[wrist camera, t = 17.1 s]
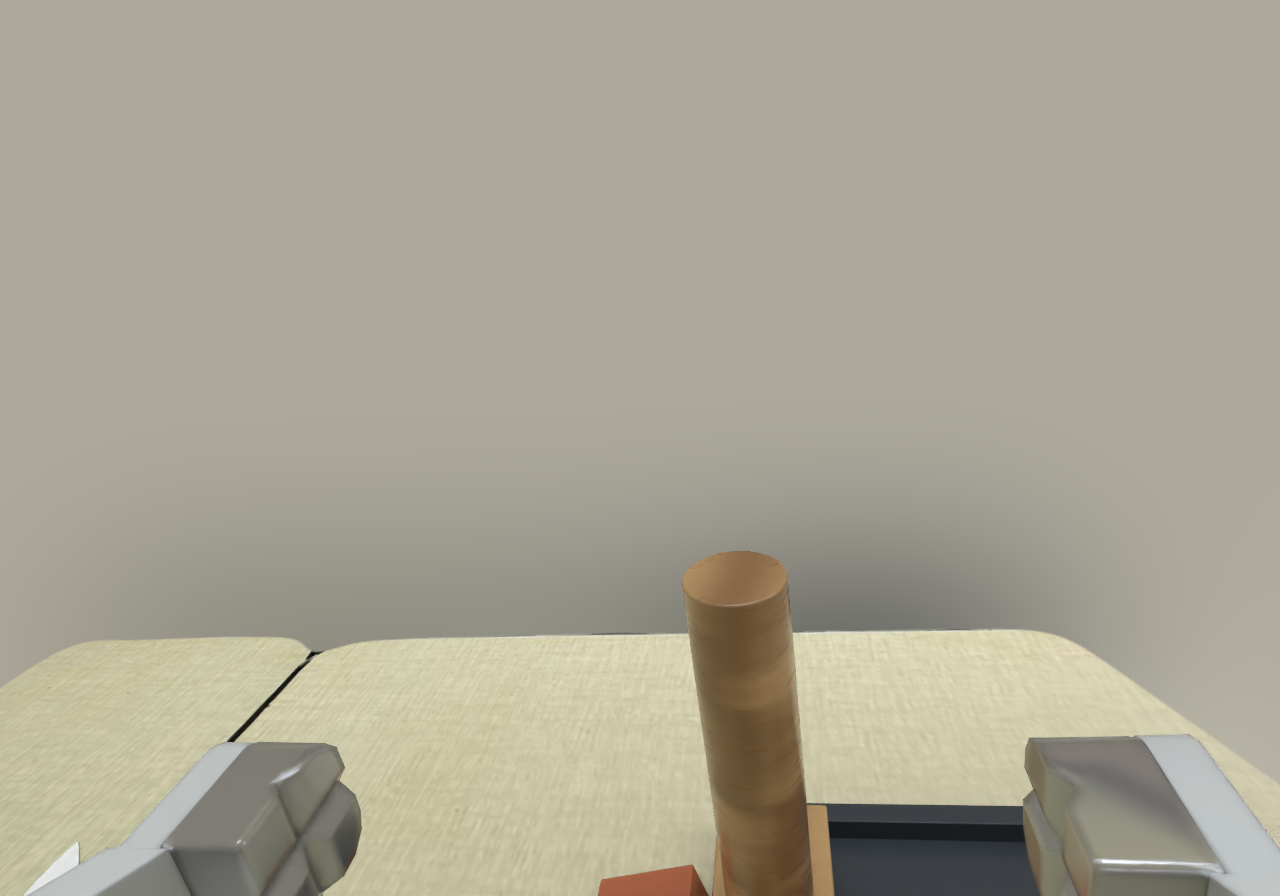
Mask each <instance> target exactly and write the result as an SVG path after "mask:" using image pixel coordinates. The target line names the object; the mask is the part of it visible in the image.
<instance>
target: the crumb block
mask: <svg viewBox="0 0 1280 896" xmlns="http://www.w3.org/2000/svg"><path fill="white" fill-rule="evenodd" d="M598 896H709V895H708V893H707V891H706V889H705V887H704V886H703V884H702V882H701V880H700V878H699V876H698V874H697V872H696V870H695V868H694V866H693V865H686V866H680V867H674V868H668V869H662V870H656V871H650V872H644V873H638V874H632V875H626V876H620V877H614V878H608V879H602V880H601V883H600V887H599V892H598Z"/></svg>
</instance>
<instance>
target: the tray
mask: <svg viewBox="0 0 1280 896" xmlns="http://www.w3.org/2000/svg"><path fill="white" fill-rule="evenodd" d="M807 805H825V806H826V807H827V815H828V826H829V837H830V849H831V860H832V871H833V882H834V893H835V896H1040V893H1039V890H1038V887H1037V884H1036V882H1035V879H1034V876H1033V873H1032V869H1031V865H1030V862H1029V858H1028V854H1027V849H1026V842H1025V835H1024V828H1023V806H966V805H892V804H819V803H807Z"/></svg>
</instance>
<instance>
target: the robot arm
mask: <svg viewBox="0 0 1280 896" xmlns="http://www.w3.org/2000/svg"><path fill="white" fill-rule="evenodd" d="M344 769H345V766H344V764H343V761H342V759H341V757H340V754H339V752H338V750H337V747H335V746H332V745H328V744H325V743H282V742H257V743H239V742H223V743H221V744H219V745H217V746H214V747H212V748H210V749H209V750H208V751H207V752H206V753H205V754H204V755H203V756H202V757H201V759H200V760H199V761H198V762H197V763H196V764H195V765H194V766H193V767H192V768H191V769H190V771H189V772H188V773H187V774H186V775H185V776H184V777H183V778H182V779H181V780H180V781H179V782H178V784H177V785H176V786H175V787H174V788H173V789H172V790H171V791H170V792H169V793H168V794H167V795H166V797H165V798H164V799H163V800H162V801H161V802H160V803H159V804H158V805H157V806H156V807H155V808H154V810H153V811H152V812H151V813H150V814H149V815H148V816H147V817H146V818H145V819H144V820H143V821H142V823H141V824H140V825H139V826H138V827H137V828H136V829H135V830H134V831H133V832H132V833H131V834H130V836H129V837H128V838H127V839H126V840H125V841H124V842H123V843H122V844H121V845H120V846H119V847H114V848H106V849H104V850H102V851H101V852H99V853H97V854H96V855H94V856H92V857H91V858H89V859H87V860H85V861H84V862H82V863H80V864H79V865H77V866H75V867H74V868H72V869H70V870H69V871H67V872H65V873H64V874H62V875H60V876H59V877H57V878H55V879H53V880H52V881H50V882H48V883H47V884H45V885H43V886H42V887H40V888H38V889H37V890H35V891H33V892H32V893H30V894H28V895H27V896H323V892H324V891H325V890H327V889H328V888H329V887H330V886H332V885H333V884H334V883H336V882H337V881H338V880H339V879H341V878H342V877H343V876H344V875H345V873H346V871H347V869H348V867H349V866H350V864H351V862H352V860H353V858H354V856H355V855H356V851H357V847H358V842H359V838H360V834H361V830H362V826H361V810H360V807H359V804H358V801H357V798H356V796H355V794H354V793H353V792H352V791H350V790H349V789H348V788H347V787H346V786H345V785H344V784H342V783H341V782H340V781H339V780H340V778H341V775H342V773H343V771H344ZM1025 769H1026V772H1027V774H1028V777H1029V779H1030V782H1031V784H1032V787H1033V790H1032V791H1031V792H1030V793H1029V794H1028V795H1027V796H1026V797H1025V798H1024V799H1023V828H1024V835H1025V842H1026V849H1027V854H1028V858H1029V862H1030V865H1031V869H1032V873H1033V876H1034V879H1035V882H1036V884H1037V887H1038V890H1039V893H1040V896H1280V849H1279V847H1278V846H1277V845H1276V843H1275V842H1274V841H1273V839H1272V838H1271V837H1270V835H1269V834H1268V833H1267V831H1266V830H1265V829H1264V827H1263V826H1262V824H1261V823H1260V822H1259V820H1258V819H1257V818H1256V816H1255V815H1254V814H1253V812H1252V811H1251V810H1250V808H1249V807H1248V806H1247V804H1246V803H1245V802H1244V800H1243V799H1242V797H1241V796H1240V795H1239V793H1238V792H1237V791H1236V789H1235V788H1234V787H1233V785H1232V784H1231V783H1230V781H1229V780H1228V779H1227V777H1226V776H1225V775H1224V773H1223V772H1222V770H1221V769H1220V768H1219V766H1218V765H1217V764H1216V762H1215V761H1214V760H1213V758H1212V757H1211V756H1210V754H1209V753H1208V752H1207V750H1206V749H1205V748H1204V746H1203V745H1202V743H1201V742H1200V741H1198V740H1197V739H1195V738H1194V737H1192V736H1191V735H1144V736H1134V737H1129V736H1121V737H1056V738H1029V740H1028V743H1027V745H1026V749H1025Z"/></svg>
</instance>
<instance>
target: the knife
mask: <svg viewBox="0 0 1280 896" xmlns="http://www.w3.org/2000/svg"><path fill="white" fill-rule="evenodd" d="M78 864H79V845H78V841H77V842H76V843H75V844H74V845H72V846H71V847H70V848H69V849H68V850H67V851H66V852H65V853H64V854H63V855H61V856H60V857H59V858H58V859H57V860H56V861H55V862H54V863H53V864H52V865H51V866H50V867H49V868H48V869H47V870H46V871H45V872H44V873H43V874H42V875H41V876H40V878H39V879H38V880H37V881H36V882H35V883H34V884H33V885H32V886H31V887H30V888H29V889H28V890H27V891H26V892H25V894H24V895H23V896H27V895H28V894H30V893H32V892H33V891H35V890H37V889H38V888H40V887H42V886H43V885H45V884H47V883H48V882H50V881H52V880H53V879H55V878H57V877H59V876H60V875H62V874H64V873H65V872H67V871H69V870H70V869H72V868H74V867H75V866H77V865H78Z"/></svg>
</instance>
